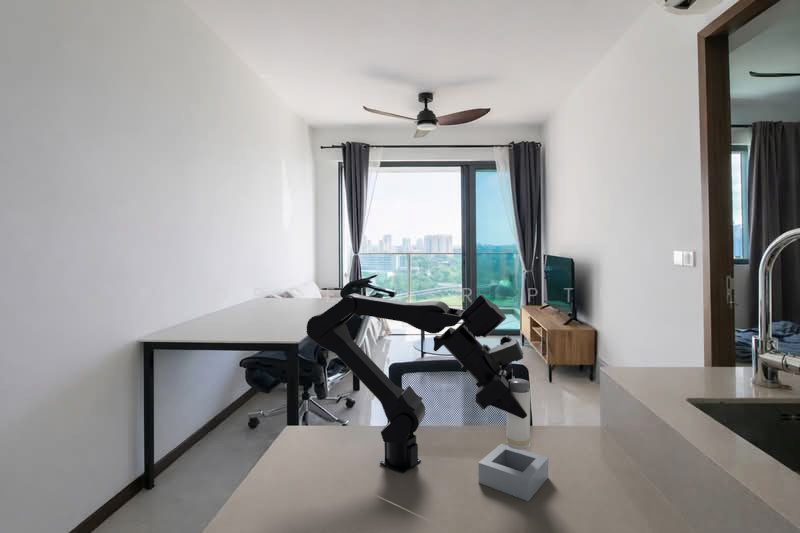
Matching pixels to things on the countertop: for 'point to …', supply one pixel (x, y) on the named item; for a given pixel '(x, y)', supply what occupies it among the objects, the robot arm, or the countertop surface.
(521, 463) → the socket block
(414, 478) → the countertop surface
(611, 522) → the countertop surface
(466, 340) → the robot arm
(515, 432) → the white plastic bottle
